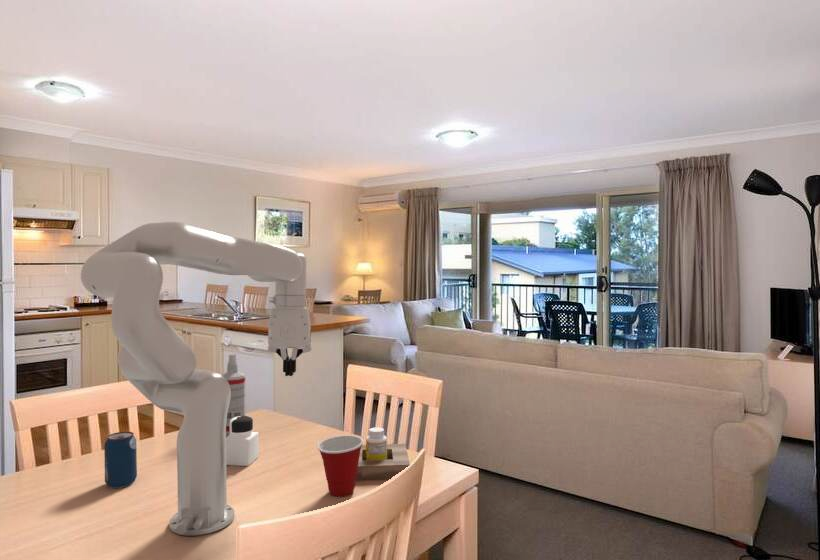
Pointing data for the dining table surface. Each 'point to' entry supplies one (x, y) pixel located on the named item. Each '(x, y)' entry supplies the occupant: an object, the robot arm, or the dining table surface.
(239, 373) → the spray bottle
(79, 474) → the dining table surface
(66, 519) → the dining table surface
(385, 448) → the supplement bottle
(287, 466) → the dining table surface
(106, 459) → the soda can
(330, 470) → the plastic cup
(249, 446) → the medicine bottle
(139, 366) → the robot arm
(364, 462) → the square bottle holder
